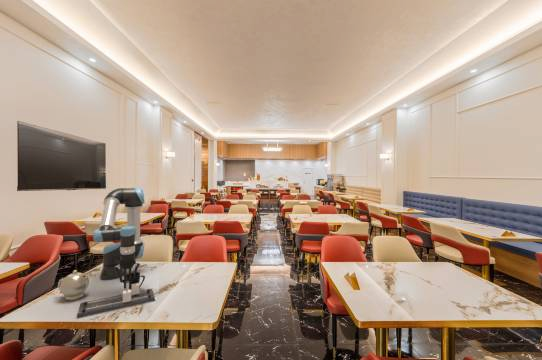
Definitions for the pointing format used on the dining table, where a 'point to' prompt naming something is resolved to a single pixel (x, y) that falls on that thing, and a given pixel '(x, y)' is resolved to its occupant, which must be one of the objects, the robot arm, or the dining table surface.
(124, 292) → the fader
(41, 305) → the dining table surface
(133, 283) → the mug
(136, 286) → the fader
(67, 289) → the teapot
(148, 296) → the console
